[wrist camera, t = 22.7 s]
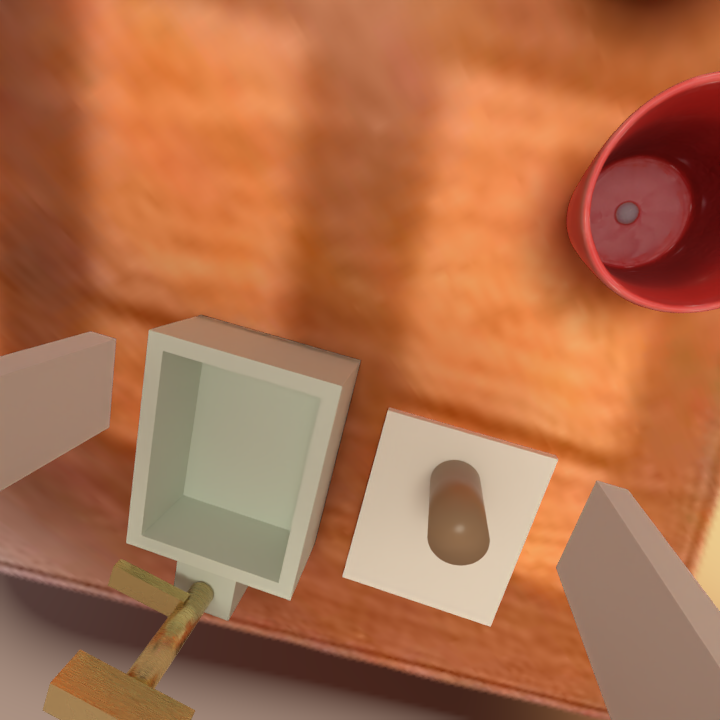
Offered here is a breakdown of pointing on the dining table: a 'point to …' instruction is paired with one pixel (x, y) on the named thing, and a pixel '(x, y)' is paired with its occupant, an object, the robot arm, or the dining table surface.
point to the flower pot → (657, 202)
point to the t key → (136, 688)
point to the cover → (446, 515)
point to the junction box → (235, 455)
